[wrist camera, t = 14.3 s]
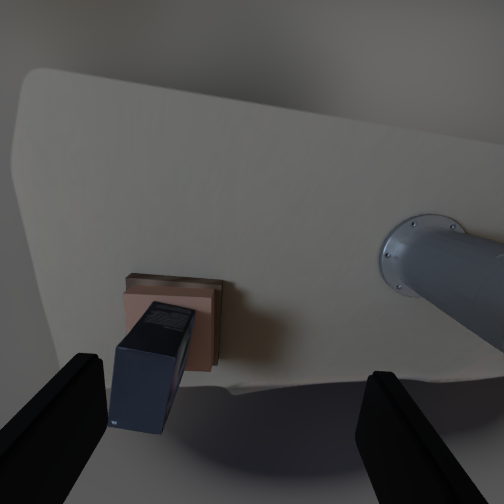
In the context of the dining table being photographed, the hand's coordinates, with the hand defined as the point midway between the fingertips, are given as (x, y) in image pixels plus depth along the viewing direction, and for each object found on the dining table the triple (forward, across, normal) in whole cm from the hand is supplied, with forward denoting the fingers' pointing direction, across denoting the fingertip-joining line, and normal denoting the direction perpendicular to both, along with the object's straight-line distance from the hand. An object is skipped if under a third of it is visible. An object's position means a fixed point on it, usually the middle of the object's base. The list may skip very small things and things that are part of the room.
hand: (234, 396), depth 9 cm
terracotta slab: (+28, +10, +15) cm, 34 cm away
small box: (+26, +10, +15) cm, 31 cm away
